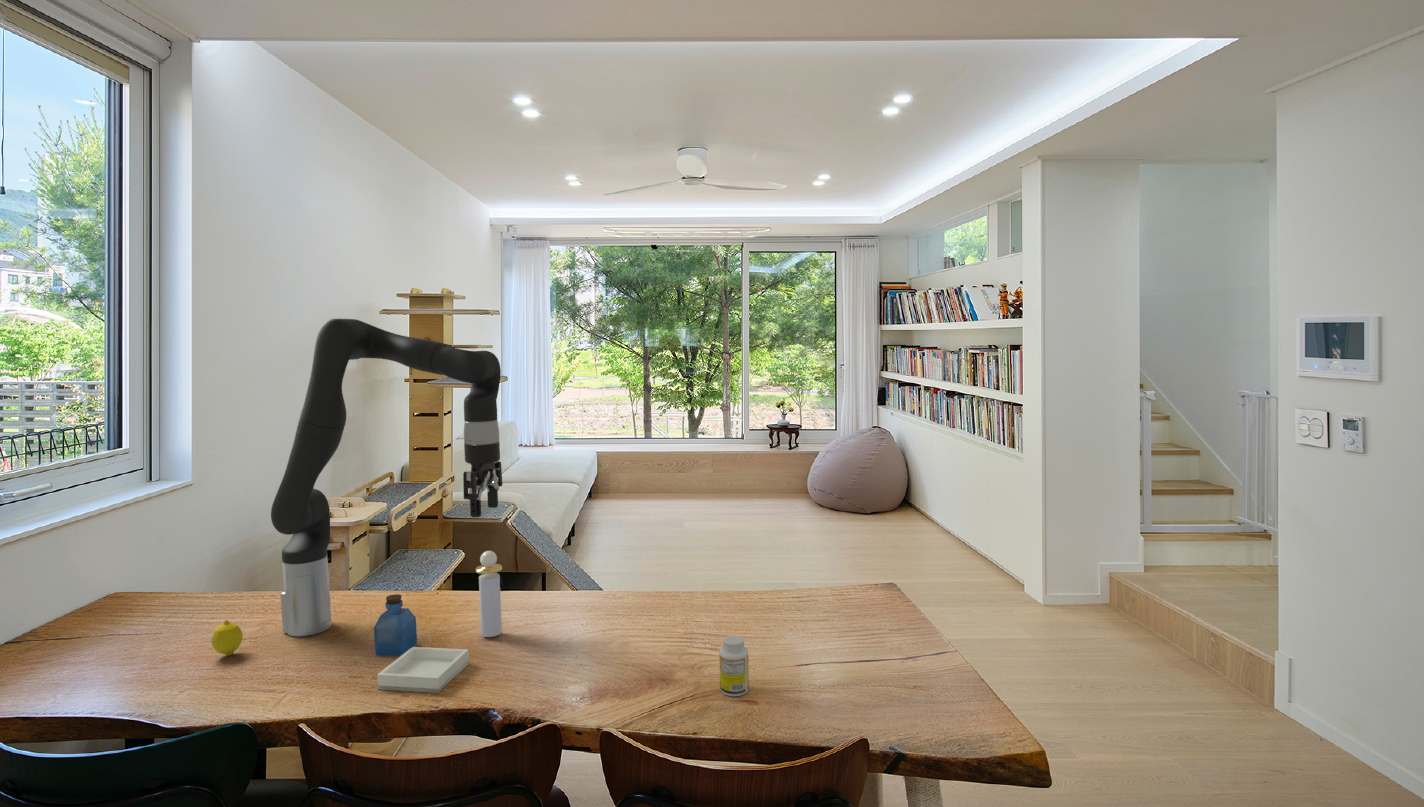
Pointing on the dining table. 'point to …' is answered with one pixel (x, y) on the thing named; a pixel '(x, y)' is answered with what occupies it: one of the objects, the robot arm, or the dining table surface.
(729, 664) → the supplement bottle
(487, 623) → the perfume bottle
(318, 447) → the robot arm
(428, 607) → the dining table surface
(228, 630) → the fruit
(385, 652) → the perfume bottle
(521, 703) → the dining table surface
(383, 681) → the dish
